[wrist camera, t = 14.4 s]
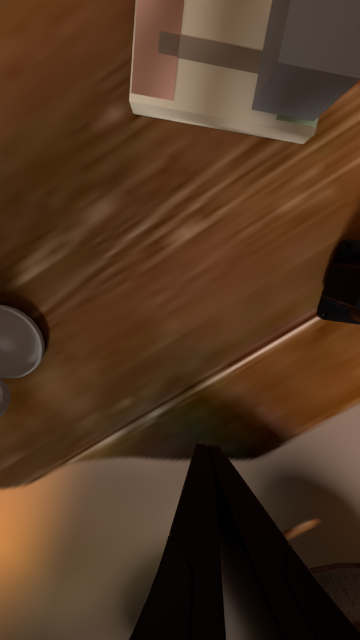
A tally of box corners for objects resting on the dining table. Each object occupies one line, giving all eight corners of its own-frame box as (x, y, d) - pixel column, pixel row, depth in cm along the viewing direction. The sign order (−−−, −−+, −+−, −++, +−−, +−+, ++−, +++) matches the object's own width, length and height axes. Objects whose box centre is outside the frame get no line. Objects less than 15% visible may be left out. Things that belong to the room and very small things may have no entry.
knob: (340, 15, 13) (405, -76, 10) (313, 121, 15) (360, 78, 11) (271, 1, 13) (310, -98, 9) (251, 109, 15) (277, 62, 11)
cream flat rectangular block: (330, 34, 15) (348, 10, 14) (302, 144, 17) (315, 134, 15) (141, -5, 14) (137, -35, 13) (133, 113, 16) (128, 100, 15)
